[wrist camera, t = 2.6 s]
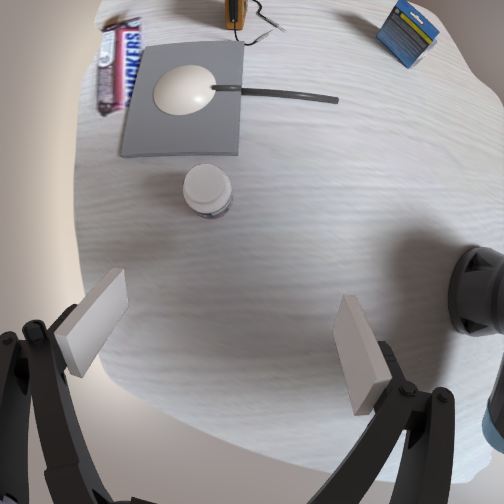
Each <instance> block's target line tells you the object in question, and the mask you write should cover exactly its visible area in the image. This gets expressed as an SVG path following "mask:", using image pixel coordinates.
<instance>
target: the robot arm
mask: <svg viewBox="0 0 504 504" xmlns="http://www.w3.org/2000/svg"><path fill="white" fill-rule="evenodd" d="M448 304H449V312H450V317H451V320H452V322H453V324H454V326H455V327H456V329H457V330H458V331H460V332H461V333H463V334H466V335H469V336H473V337H479V336H485V335H491V334H497V333H500V334H503V335H504V255H503V254H501V253H499V252H497V251H495V250H493V249H491V248H486V247H478V248H472V249H470V250H468V251H467V252H466V253H465V254H464V255H463V256H462V257H461V258H460V260H459V261H458V263H457V265H456V267H455V269H454V272H453V275H452V278H451V282H450V287H449V296H448ZM128 307H129V304H128V297H127V290H126V282H125V273H124V269H122V268H115V267H113V268H112V269H111V270H110V271H109V272H108V273H107V274H106V275H105V276H104V277H103V278H102V279H101V281H100V282H99V283H98V284H97V285H96V286H95V287H94V288H93V289H92V290H91V291H90V292H89V293H88V294H87V296H86V297H85V298H84V299H83V300H82V301H81V302H80V303H79V304H78V305H77V304H73V305H71V306H70V307H68V308H67V309H66V310H65V311H64V312H63V313H62V315H60V316H59V317H58V319H57V320H56V321H55V322H54V323H53V324H52V325H51V326H50V328H49V329H48V330H47V329H46V326H45V324H44V322H43V321H41V320H32V321H29V322H28V323H26V324H25V325H24V326H23V328H22V332H23V334H24V337H25V339H26V340H19V339H18V337H17V335H16V333H14V332H11V331H9V332H5V333H3V334H2V335H0V504H29V484H28V428H29V414H30V404H31V395H32V400H33V407H34V413H35V419H36V424H37V429H38V434H39V438H40V442H41V447H42V451H43V454H44V458H45V462H46V465H47V469H46V470H45V471H44V476H45V480H46V483H47V486H48V489H49V492H50V495H51V497H52V500H53V503H54V504H156V503H152V502H148V501H145V500H141V499H137V498H135V497H132V498H131V501H117V502H114V501H113V500H112V498H111V496H110V495H109V493H108V492H107V490H106V489H105V488H104V486H103V484H102V482H101V479H100V477H99V475H98V473H97V470H96V469H95V466H94V463H93V461H92V459H91V456H90V454H89V451H88V449H87V446H86V443H85V440H84V438H83V435H82V432H81V429H80V426H79V423H78V420H77V417H76V413H75V410H74V406H73V403H72V399H71V396H70V392H69V388H68V384H67V380H66V375H65V373H64V370H65V368H66V367H68V370H69V372H70V374H71V375H74V376H77V377H80V378H83V376H84V375H85V373H86V371H87V370H88V368H89V367H90V365H91V363H92V362H93V360H94V359H95V357H96V355H97V354H98V352H99V351H100V349H101V347H102V346H103V344H104V343H105V341H106V340H107V338H108V337H109V335H110V334H111V332H112V331H113V329H114V327H115V326H116V324H117V323H118V321H119V320H120V319H121V317H122V316H123V314H124V313H125V311H126V310H127V308H128ZM332 332H333V336H334V339H335V343H336V346H337V350H338V354H339V357H340V361H341V365H342V368H343V372H344V376H345V380H346V384H347V388H348V392H349V396H350V400H351V404H352V408H353V412H354V416H357V415H369V413H370V412H371V411H372V409H373V408H374V411H375V415H374V417H373V418H372V420H371V421H370V422H369V424H368V425H367V428H366V429H365V431H364V432H363V433H362V435H361V436H360V438H359V439H358V441H357V442H356V444H355V445H354V446H353V448H352V449H351V451H350V452H349V453H348V455H347V456H346V457H345V459H344V460H343V461H342V463H341V464H340V465H339V466H338V468H337V469H336V470H335V471H334V473H333V474H332V475H331V476H330V478H329V479H328V480H327V481H326V482H325V484H324V485H323V486H322V487H321V488H320V489H319V490H318V492H317V493H316V494H315V495H314V496H313V497H312V498H311V499H310V501H308V503H307V504H359V502H360V501H361V499H362V498H363V497H364V495H365V494H366V492H367V491H368V489H369V488H370V486H371V485H372V483H373V482H374V480H375V478H376V477H377V475H378V474H379V472H380V470H381V469H382V467H383V465H384V464H385V462H386V460H387V459H388V457H389V455H390V453H391V451H392V450H393V448H394V446H395V444H396V442H397V440H398V438H399V436H400V434H401V433H402V431H403V430H407V432H406V438H405V443H404V448H403V453H402V458H401V462H400V466H399V471H398V475H397V479H396V482H395V486H394V490H393V493H392V496H391V500H390V503H389V504H447V503H448V497H449V491H450V484H451V476H452V466H453V454H454V436H455V399H454V395H453V394H452V392H451V391H450V390H448V389H447V388H444V387H437V388H435V389H434V390H433V392H432V393H426V392H420V391H418V389H417V387H416V386H415V385H414V384H413V383H411V382H409V381H406V380H405V377H404V375H403V373H402V371H401V368H400V366H399V364H398V362H397V360H396V358H395V356H394V353H393V351H392V349H391V347H390V346H389V345H388V344H387V343H386V342H385V341H376V338H375V336H374V334H373V332H372V330H371V327H370V325H369V323H368V321H367V319H366V317H365V314H364V312H363V310H362V308H361V306H360V304H359V302H358V300H357V298H356V296H355V295H345V294H344V295H343V298H342V301H341V305H340V308H339V311H338V314H337V317H336V321H335V324H334V327H333V330H332ZM482 431H483V435H484V437H485V439H486V440H487V442H488V443H489V444H490V445H491V446H492V447H493V448H494V449H496V450H497V451H499V452H501V453H503V454H504V354H503V357H502V361H501V365H500V368H499V371H498V375H497V378H496V381H495V384H494V387H493V390H492V393H491V395H490V397H489V399H488V402H487V408H486V411H485V414H484V417H483V420H482Z"/></svg>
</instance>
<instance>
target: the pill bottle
mask: <svg viewBox="0 0 504 504" xmlns="http://www.w3.org/2000/svg"><path fill="white" fill-rule="evenodd" d="M183 195H184V198H185V200H186V202H187V204H188V205H189V206H190V207H191V208H192V209H193V210H194V211H195V212H196V213H197V214H198V215H199V216H201V217H203V218H206V219H217V218H220V217H222V216H224V215H225V214H226V213H227V212H228V211H229V209H230V207H231V205H232V201H233V195H232V187H231V183H230V180H229V178H228V176H227V175H226V174H225V173H224V172H223V171H222V170H221V169H219V168H217V167H215V166H214V165H211V164H199V165H196V166H195V167H193V168H192V169H190V171H189V172H188V173H187V175H186V177H185V180H184V185H183Z"/></svg>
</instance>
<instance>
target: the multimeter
mask: <svg viewBox="0 0 504 504" xmlns="http://www.w3.org/2000/svg"><path fill="white" fill-rule="evenodd" d="M253 1H256V0H253ZM247 2H248V0H225V14H226V28H227V29H234V32H235V37H236V40H237V41H239V40H238V39H237V35H236V29H239V30H242V29H243V25H244V20H245V16H246V11H247ZM256 2H257V3H258V4H259V5H260V6H261V8H260V10H259V11H258V14H259V15H260V16H262V17H263V18H265V19H266V20H267V21H269V22H271V23H272V24H274V25H275V26H276V27H280V26H279V24H277V23H275V22H274V21H272V20H270V19H268V18H266V17H264V16H263V15H261V14H260V13H259V12H260V11H261V9H262V5H261V4H260V3H259V2H258V1H256ZM280 28H281V27H280ZM281 29H283V28H281ZM274 30H275V29H274ZM274 30H272V31H271V32H273V31H274ZM283 30H284V29H283ZM284 31H286V30H284ZM271 32H269V33H271ZM286 32H287V31H286ZM269 33H266V34H264V35H263V36H261V37H260V38H258V39H257V40H256V41H255V42H253V43H251V44H245V43H244V45H253V44H254V43H256V42H258V41H260V40H262V39H263V38H265V37H266V36H268V35H269Z"/></svg>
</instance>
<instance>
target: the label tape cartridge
mask: <svg viewBox="0 0 504 504" xmlns="http://www.w3.org/2000/svg"><path fill="white" fill-rule="evenodd" d="M410 12H412V13H414V14H415V15H417V16H419V19H420V20H421V21H422V22H423V24H421V23H420V22H419V21H418V20H417V19H415V18H414V17H413V16H412V15H411V14H410ZM439 33H440V32H439V31H438V30H437V29H436V28H435V27H434V26H433V25H432V24H431V23H430V22H429V21H428V20H427V19H426V18H425V17H424V16H423V15H422V14H421V13H420V12H418V11H417V10H416V9H415V8H414V7H413V6H412V5H410V4H409V3H408V2H407V1H406V0H398V2H397V3H396V5H395V6H394V8H393V9H392V11H391V13H390V15H389V16H388V18H387V19H386V21H385V23H384V24H383V26H382V27H381V29H380V31H379V32H378V34H377V36H376V37H377V38H378V39H379V40H381V41H382V42H383V43H384V44H385V45H386V46H387V47H388V48H389V49H390V50H391V51H392V52H393V53H394V54H395V55H396V56H397V57H398V58H399V59H400V60H401V61H402V62H403V63H404V65H405V66H406V67H407V68H408V69H409V68H411V67H412V66H414V65H416V64H417V63H418V62H419V61H420V60H421V59H422V58H423V57H424V56H425V55H426V54H427V53H428V52H429V51H430V50H431V48H432V47H433V46H434V45H435V44H436V43H437V41H436V40H435V37H436V36H437V35H438V34H439Z"/></svg>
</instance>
